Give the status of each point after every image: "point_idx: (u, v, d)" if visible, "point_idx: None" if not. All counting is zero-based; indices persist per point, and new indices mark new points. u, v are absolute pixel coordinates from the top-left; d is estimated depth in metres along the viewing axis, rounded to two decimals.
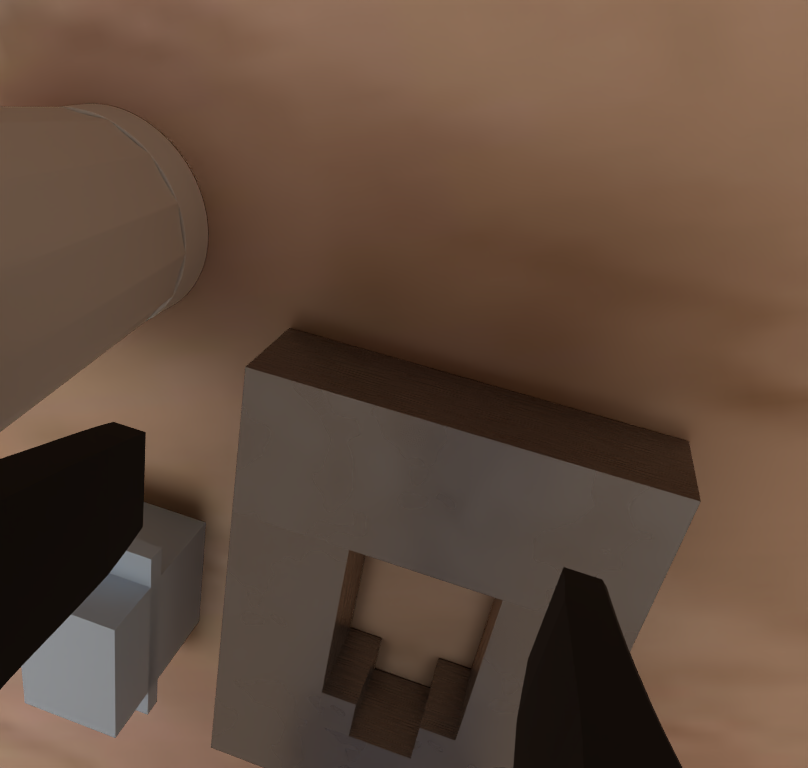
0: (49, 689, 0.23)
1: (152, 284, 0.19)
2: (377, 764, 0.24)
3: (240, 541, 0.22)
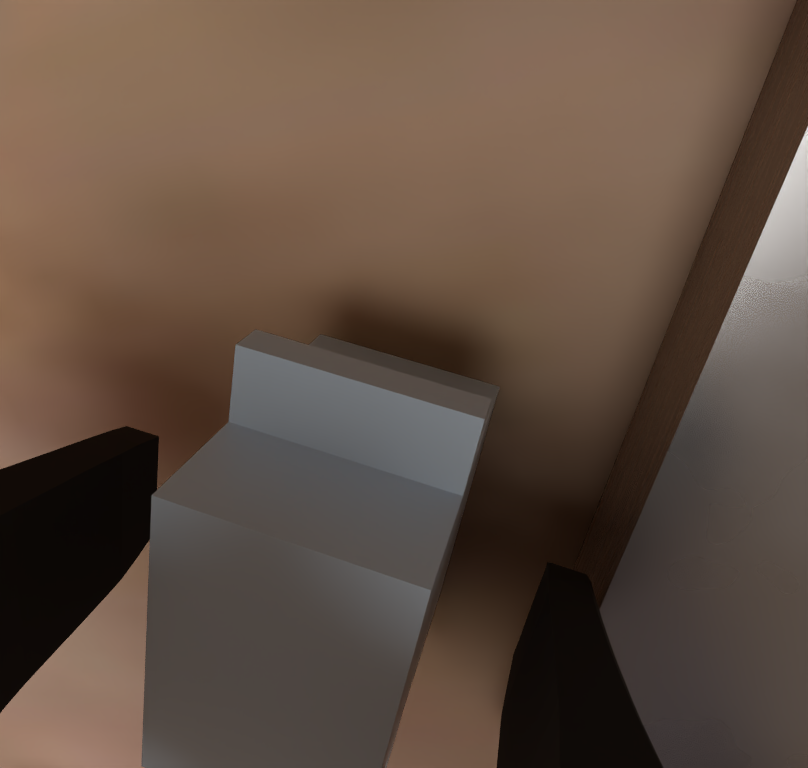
0: (208, 739, 0.10)
1: None
2: None
3: (736, 366, 0.08)
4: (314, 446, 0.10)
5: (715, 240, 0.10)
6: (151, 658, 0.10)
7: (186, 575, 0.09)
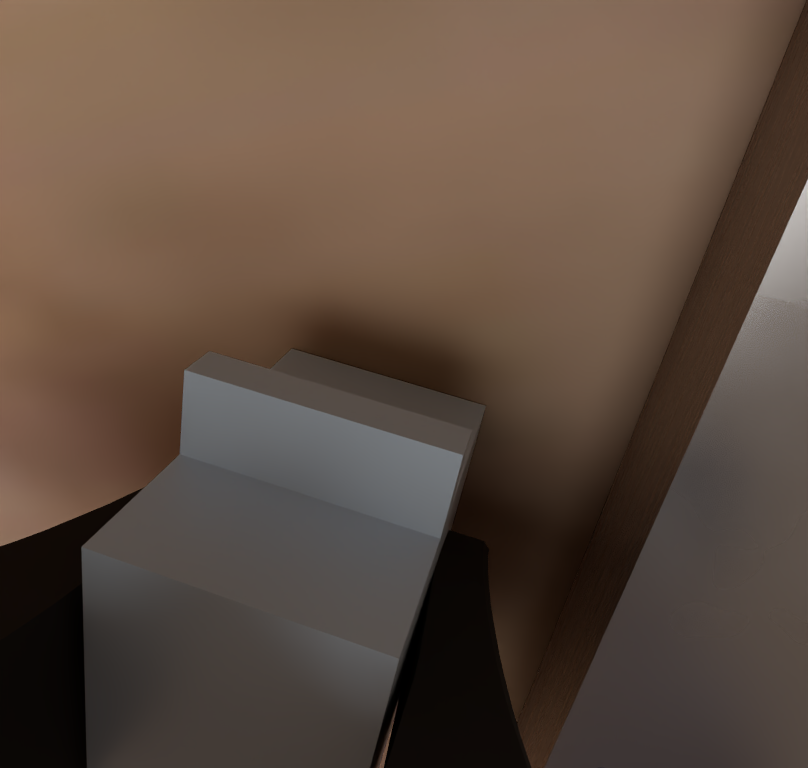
0: None
1: None
2: None
3: (748, 395, 0.07)
4: (274, 482, 0.09)
5: (722, 249, 0.09)
6: (91, 721, 0.08)
7: (125, 634, 0.08)
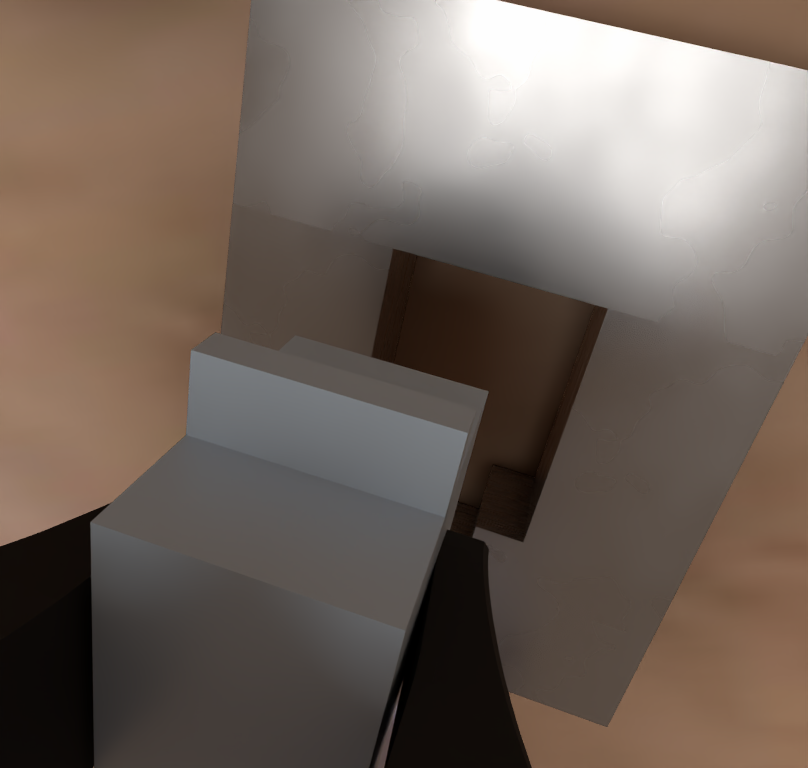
0: None
1: None
2: None
3: (242, 253, 0.16)
4: (280, 462, 0.09)
5: None
6: (100, 699, 0.09)
7: (133, 610, 0.08)
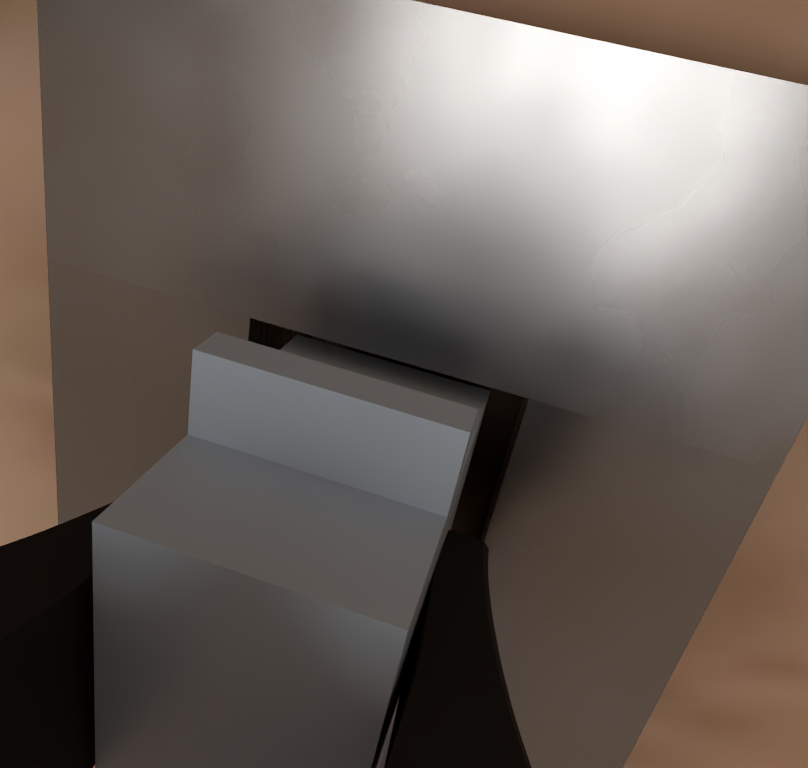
0: None
1: None
2: None
3: (67, 320, 0.12)
4: (282, 461, 0.09)
5: None
6: (100, 699, 0.09)
7: (134, 610, 0.08)
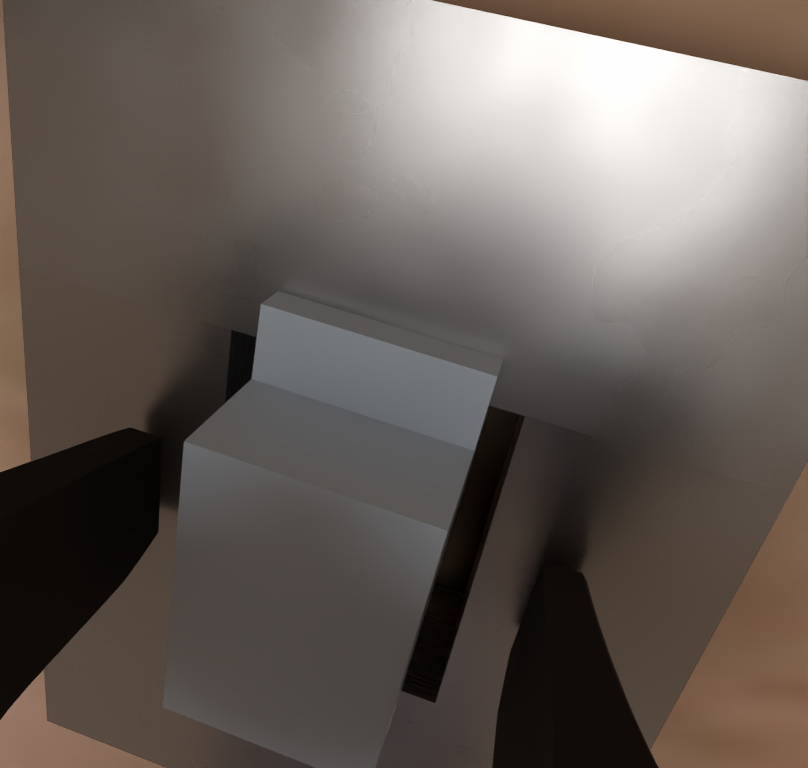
0: (229, 679, 0.10)
1: None
2: None
3: (40, 332, 0.12)
4: (333, 402, 0.10)
5: None
6: (176, 601, 0.10)
7: (214, 519, 0.09)
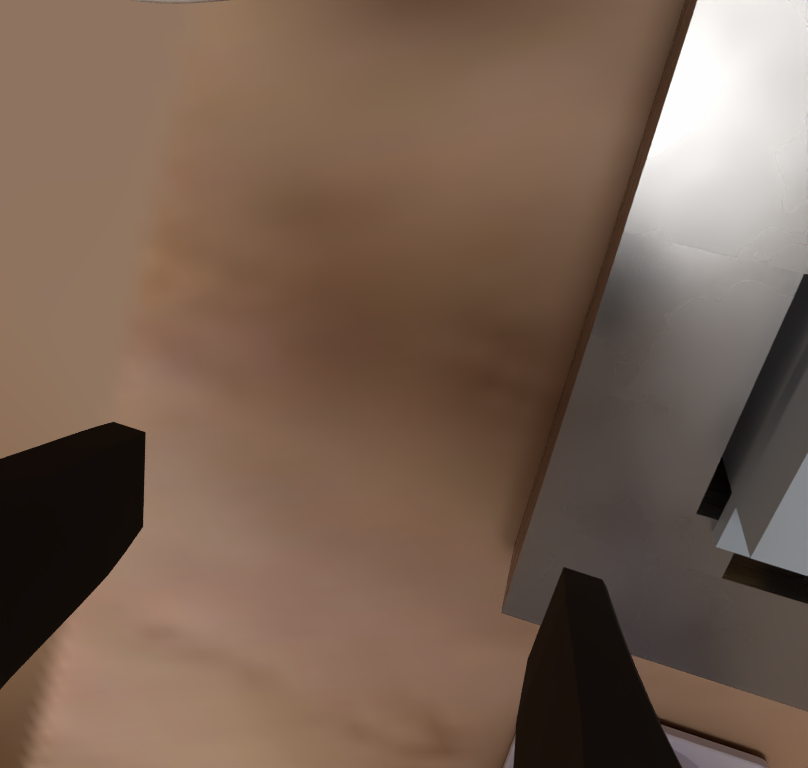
0: None
1: None
2: (755, 618, 0.18)
3: (624, 281, 0.16)
4: None
5: (620, 215, 0.17)
6: (805, 468, 0.14)
7: None
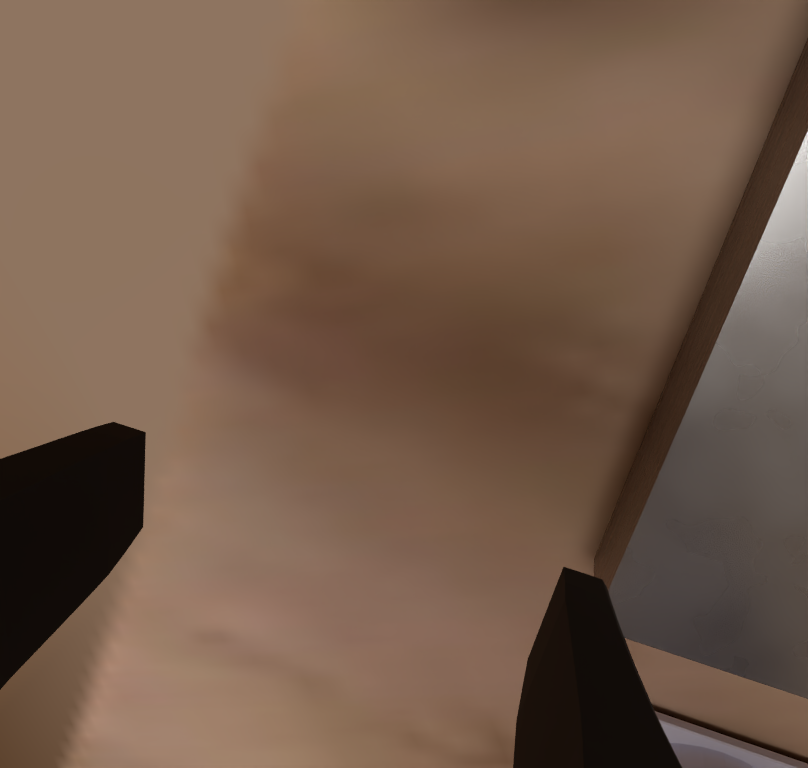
0: None
1: None
2: None
3: (756, 291, 0.15)
4: None
5: (741, 222, 0.17)
6: None
7: None
